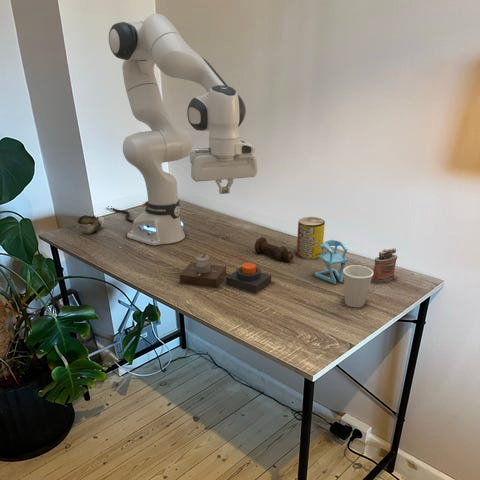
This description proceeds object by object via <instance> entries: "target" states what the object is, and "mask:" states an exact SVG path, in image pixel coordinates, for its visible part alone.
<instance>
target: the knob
mask: <svg viewBox="0 0 480 480" xmlns="http://www.w3.org/2000/svg"><path fill="white" fill-rule="evenodd" d="M195 263H196V271H197V272H199V273H207V272H209V271H210V265H211V256H209V255H208V254H207V253H203V254H198V255H196V256H195Z"/></svg>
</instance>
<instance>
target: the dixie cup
mask: <svg viewBox="0 0 480 480" xmlns="http://www.w3.org/2000/svg"><path fill="white" fill-rule="evenodd" d="M343 273H344V274H343V291H344V293H343V294H344V304H345V305H346V306H348V307H351V308H361V307H363V306H365V303H366V300H367V296H368V293H369V290H370V285H371V283H372V278H373V274H374V270H373V269H372V268H370V267H368V266H364V265H359V264H353V265H348V266H345V268H344V269H343Z"/></svg>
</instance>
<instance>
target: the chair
mask: <svg viewBox="0 0 480 480" xmlns="http://www.w3.org/2000/svg"><path fill="white" fill-rule="evenodd" d="M331 247H334V251H333V250H332V248H331ZM338 247H341V248H342V249H343V253H342V254H340V253H339V252H338ZM321 249H322V254H321V255H319V258H318V259H319V260H322V262H323V263H324V264H325V266H326V268H327V269H326V270H322V271H316V272H314V276H315V277H317V278H318V279H322V280H324V281H327V282H329V283H331V284H334V285H335V284H336V283H337V281H338V282H339V283H344V273H343V269H344V268H346V263H348V261H349V260H348V259H349V258H347V257H346V254H347V252H348V248H347V246H346V244H345V243H344V242H342V241H338V240H335V239H329V240H326V241H323V244H322V245H321ZM325 250H326V251H327V252H328V253H325ZM337 264H340V269H339V270H340V271H338V270H337V269H336V268H332V266H334V265H337ZM326 274H329V275H330V276H326ZM336 279H337V280H336Z"/></svg>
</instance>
